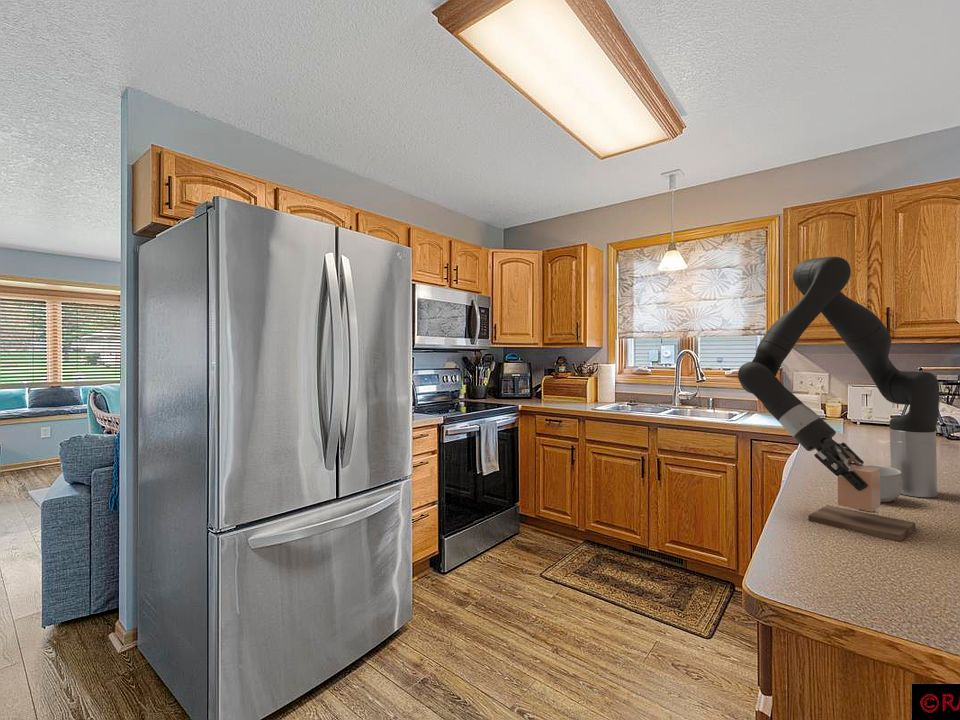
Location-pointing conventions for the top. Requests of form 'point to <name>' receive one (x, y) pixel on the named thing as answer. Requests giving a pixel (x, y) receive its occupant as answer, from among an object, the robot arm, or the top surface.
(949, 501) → the top surface
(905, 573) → the top surface
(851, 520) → the board
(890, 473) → the teacup
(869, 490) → the peach colored cube
